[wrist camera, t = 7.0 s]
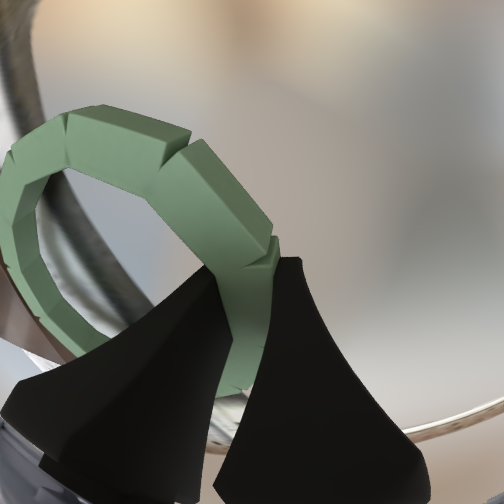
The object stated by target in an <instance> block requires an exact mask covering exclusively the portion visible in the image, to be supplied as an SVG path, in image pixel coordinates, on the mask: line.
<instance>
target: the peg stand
mask: <svg viewBox="0 0 504 504" xmlns="http://www.w3.org/2000/svg"><path fill="white" fill-rule="evenodd" d="M7 267H8V265H7V264H6V263H4V259H3V255H2V251H1V247H0V337H1V338H3V339H5V340H6V341H8V342H10V343H12V344H14V345H16V346H19V347H20V348H23V349H25V350H27V351H29V352H31V353H33V354H36V355H38V356H40V357H43V358H45V359H47V360H50V361H52V362H55V363H57V364H60V365H64V364H66V363H68V362H70V361H72V360H74V359H76V358H78V357H76V356H75V355H74V354H73V353H72V352H71V351H70V350H69V349H67V348H66V347H65V346H64V345H63V344H62V343H61V342H60V341H59V340H58V339H57V338H56V337H55V336H54V335H53V334H52V333H51V332H50V331H49V330H48V329H47V328H46V327H45V326H44V325H43V324H42V323H41V322H40V321H39V319H40V317H38V316H35V315H34V314H33V312H32V311H31V309H30V308H29V306H28V304H27V303H26V301H25V300H24V298H23V296H22V295H21V293H20V291H19V290H18V288H17V286H16V284H15V283H14V281H13V279H12V277H11V275H10V274H9V272H8V270H7Z"/></svg>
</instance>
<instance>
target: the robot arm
mask: <svg viewBox="0 0 504 504" xmlns="http://www.w3.org/2000/svg"><path fill="white" fill-rule="evenodd" d="M302 266H303V265H302V260H301V258H299V257H280V258H279V261H278V263H277V267H276V270H275V274H274V276H273V290H272V303H271V317H270V324H269V330H268V334H267V338H266V342H265V346H264V350H263V354H262V357H261V361H260V364H259V368H258V371H257V374H256V378H255V381H254V385H253V388H252V390H251V394H250V396H249V399H248V402H247V405H246V408H245V410H244V413H243V416H242V419H241V422H240V424H239V427H238V429H237V432H236V434H235V436H234V439H233V441H232V444H231V446H230V448H229V451H228V453H227V455H226V458H225V460H224V462H223V464H222V467H221V469H220V471H219V473H218V475H217V478H216V479H215V482H214V483H213V487H214V489H215V490H216V492H217V493H218V495H219V496H220V497H221V499H222V500H223V501H224V502H225V504H427V503H428V502H429V501H430V497H431V486H430V480H429V475H428V470H427V467H426V463H425V460H424V457H423V455H422V452H421V451H420V450H419V449H418V448H417V447H416V445H415V444H414V443H413V442H412V441H411V440H410V439H409V438H408V437H407V436H406V435H405V434H404V433H403V432H402V431H401V430H400V429H399V428H398V426H397V425H396V424H395V423H394V422H393V421H392V420H391V419H390V417H389V416H388V415H387V414H386V413H385V411H384V410H383V409H382V408H381V407H380V406H379V404H378V403H377V402H376V401H375V399H374V398H373V397H372V395H371V394H370V393H369V391H368V390H367V389H366V387H365V386H364V385H363V383H362V382H361V381H360V379H359V378H358V377H357V375H356V374H355V373H354V371H353V370H352V368H351V367H350V365H349V364H348V362H347V361H346V359H345V358H344V356H343V355H342V353H341V352H340V350H339V348H338V347H337V345H336V343H335V342H334V340H333V338H332V336H331V335H330V333H329V331H328V329H327V327H326V326H325V323H324V321H323V319H322V317H321V316H320V314H319V311H318V310H317V307H316V305H315V303H314V300H313V298H312V295H311V293H310V291H309V288H308V285H307V282H306V279H305V276H304V272H303V267H302ZM232 342H233V337H232V334H231V330H230V327H229V324H228V320H227V317H226V313H225V310H224V306H223V303H222V300H221V296H220V293H219V289H218V285H217V282H216V278H215V275H214V274H213V273H212V272H211V271H210V270H209V269H208V268H207V267H206V266H205V265H203V266H202V267H201V268H200V269H199V270H198V271H197V272H195V273H194V274H193V275H192V276H191V277H190V278H188V279H187V280H186V281H185V282H184V283H183V284H182V285H181V286H179V288H177V289H176V290H175V291H174V292H173V293H172V294H170V295H169V296H168V297H167V298H166V299H164V300H163V301H162V302H161V303H159V304H158V305H157V306H156V307H154V308H153V309H152V310H151V311H150V312H148V313H147V314H146V315H145V316H143V317H142V318H141V319H139V320H138V321H137V322H135V323H134V324H133V325H131V326H130V327H128V328H127V329H125V330H124V331H122V332H121V333H120V334H118V335H117V336H115V337H113V338H112V339H110V340H109V341H107V342H105V343H103V344H102V345H100V346H98V347H97V348H95V349H93V350H91V351H90V352H88V353H86V354H84V355H82V356H80V357H78V358H76V359H74V360H72V361H70V362H68V363H66V364H64V365H61V366H59V367H57V368H55V369H52V370H50V371H47V372H44V373H42V374H39V375H36V376H33V377H30V378H27V379H24V380H21V381H19V382H18V383H17V384H16V386H15V387H14V389H13V390H12V392H11V394H10V395H9V397H8V399H7V401H6V402H5V404H4V406H3V407H2V409H1V411H0V414H1V417H2V418H3V419H4V420H3V419H2V418H1V417H0V504H174V503H175V502H177V503H180V504H196V503H198V502H199V501H200V488H201V478H202V469H203V462H204V454H205V448H206V442H207V436H208V430H209V425H210V419H211V415H212V410H213V405H214V400H215V396H216V393H217V389H218V386H219V383H220V380H221V377H222V374H223V370H224V367H225V364H226V361H227V358H228V355H229V352H230V349H231V346H232ZM30 442H31V443H32V444H31V443H30ZM34 445H35V446H36V447H35V446H34ZM38 448H39V449H40V450H39V449H38ZM42 451H43V452H44V453H43V452H42ZM484 504H504V492H503V493H501V494H499V495H497V496H495V497H493V498H491V499H489V500H488V501H487V502H486V503H484Z"/></svg>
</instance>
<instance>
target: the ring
mask: <svg viewBox="0 0 504 504" xmlns="http://www.w3.org/2000/svg"><path fill="white" fill-rule="evenodd" d="M191 133H192V131H190V130H187V129H184V128H181V127H179V126H175V125H173V124H169V123H166V122H163V121H160V120H157V119H153V118H150V117H147V116H143V115H140V114H137V113H133V112H130V111H126V110H123V109H119V108H115V107H111V106H108V105H99V106H89V107H85V108H81V109H77V110H73V111H69V112H65V113H62V114H59V115H58V116H56V117H54V118H53V119H51V120H49V121H48V122H46V123H44V124H43V125H41V126H39V127H38V128H36V129H35V130H33V131H32V132H30V133H29V134H27V135H26V136H24V137H23V138H21V139H20V140H18V141H17V142H16V143H14V144H13V145H12V146H11V150H9V151H8V152H7V154H6V157H5V160H4V163H3V167H2V170H1V174H0V247H1V251H2V255H3V259H4V263H6V264H7V265H8V267H7V270H8V272H9V274H10V275H11V277H12V279H13V281H14V283H15V284H16V286H17V288H18V290H19V291H20V293H21V295H22V296H23V298H24V300H25V301H26V303H27V304H28V306H29V308H30V309H31V311H32V312H33V314H34V315H35V316H38V317H40V319H39V321H40V322H41V323H42V324H43V325H44V326H45V327H46V328H47V329H48V330H49V331H50V332H51V333H52V334H53V335H54V336H55V337H56V338H57V339H58V340H59V341H60V342H61V343H62V344H63V345H64V346H65V347H66V348H67V349H69V350H70V351H71V352H72V353H73V354H74V355H75V356H76V357H80V356H82V355H84V354H86V353H88V352H90V351H91V350H93V349H95V348H97V347H98V346H100V345H102V344H103V343H105V342H107V341H109V340H110V339H111V338H109V337H107V336H106V335H104V334H102V333H100V332H98V331H97V330H96V329H94V328H93V327H92V326H91V325H90V324H89V323H88V322H87V321H86V320H85V319H84V318H83V317H82V316H81V315H80V314H79V313H78V312H77V311H76V310H75V309H74V308H73V307H72V306H71V305H70V304H69V303H68V302H67V301H66V300H65V299H64V298H63V297H62V295H61V293H60V291H59V290H58V288H57V286H56V284H55V282H54V281H53V279H52V277H51V275H50V273H49V271H48V269H47V267H46V265H45V263H44V261H43V259H42V257H41V255H40V250H39V242H38V234H37V225H36V214H35V208H36V205H37V203H38V201H39V198H40V196H41V194H42V192H43V190H44V187H45V185H46V183H47V181H48V179H49V177H50V175H51V174H53V173H56V172H58V171H61V170H64V169H66V168H72V169H74V170H77V171H79V172H81V173H84V174H86V175H89V176H91V177H94V178H96V179H98V180H101V181H103V182H106V183H108V184H110V185H113V186H115V187H118V188H120V189H122V190H125V191H127V192H130V193H132V194H135V195H137V196H139V197H142V198H144V199H145V200H146V201H147V202H148V203H149V204H150V206H151V207H152V208H153V209H154V210H155V211H156V212H157V213H158V214H159V216H160V217H161V218H162V219H163V220H164V221H165V222H166V223H167V225H168V226H169V227H170V228H171V229H172V230H173V231H174V232H175V233H176V234H177V236H178V237H179V238H180V239H181V240H182V241H183V242H184V243H185V244H186V245H187V246H188V247H189V248H190V250H191V251H192V252H193V253H194V254H195V255H196V256H197V257H198V258H199V259H200V260H201V261H202V262H203V263H204V265H205V266H206V267H207V268H208V269H209V270H210V271H211V272H212V273H213V274H214V275H215V278H216V282H217V285H218V289H219V293H220V296H221V300H222V303H223V306H224V310H225V313H226V317H227V320H228V324H229V327H230V330H231V334H232V337H233V342H232V346H231V349H230V352H229V355H228V358H227V361H226V364H225V367H224V370H223V374H222V377H221V380H220V383H219V386H218V389H217V393H216V396H215V398H216V397H222V396H227V395H232V394H237V393H241V392H242V389H244V390H248V389H249V387H250V386H251V385H252V384H253V383H254V381H255V378H256V374H257V371H258V368H259V364H260V361H261V357H262V354H263V350H264V346H265V342H266V338H267V334H268V330H269V324H270V317H271V303H272V290H273V276H274V274H275V270H276V267H277V263H278V261H279V258H280V257H281V256H280V248H279V239H278V237H277V236H271V233H272V229H273V224H272V223H271V221H270V220H269V219H268V217H267V216H266V215H265V214H264V212H262V210H261V209H260V208H259V206H258V205H257V204H256V203H255V201H254V200H253V199H252V198H251V196H250V195H249V194H248V193H247V192H246V190H245V189H244V188H243V187H242V186H241V184H240V183H239V182H238V181H237V179H236V178H235V177H234V176H233V175H232V173H231V172H230V171H229V170H228V169H227V167H226V166H225V165H224V164H223V163H222V161H221V160H220V159H219V158H218V157H217V155H216V154H215V153H214V152H213V151H212V149H211V148H210V147H209V146H208V145H207V144H206V142H205V141H204V140H203V139H200V140H197V141H196V142H194V143H192V144H190V145H188V142H189V139H190V136H191Z"/></svg>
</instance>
